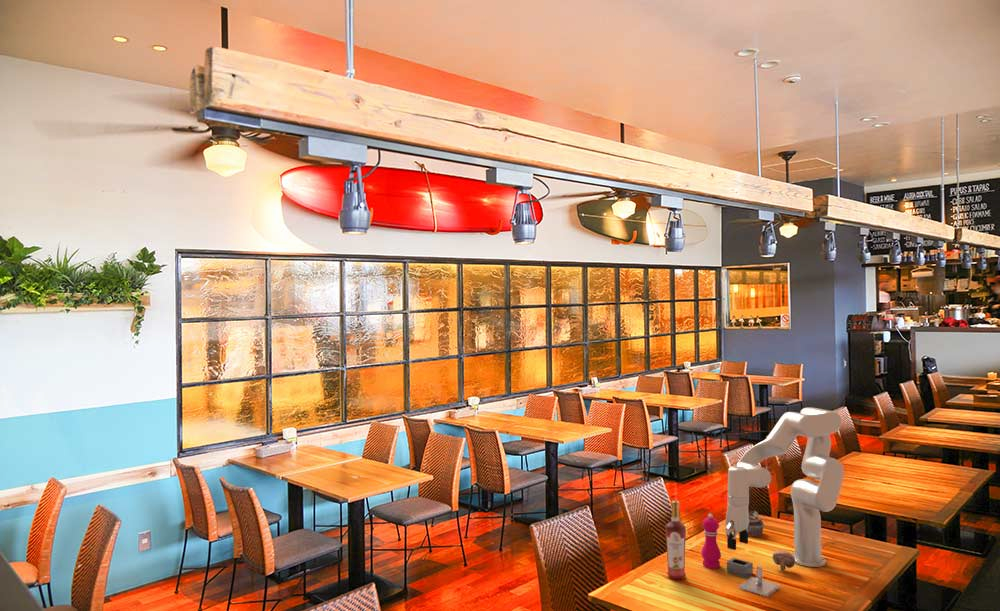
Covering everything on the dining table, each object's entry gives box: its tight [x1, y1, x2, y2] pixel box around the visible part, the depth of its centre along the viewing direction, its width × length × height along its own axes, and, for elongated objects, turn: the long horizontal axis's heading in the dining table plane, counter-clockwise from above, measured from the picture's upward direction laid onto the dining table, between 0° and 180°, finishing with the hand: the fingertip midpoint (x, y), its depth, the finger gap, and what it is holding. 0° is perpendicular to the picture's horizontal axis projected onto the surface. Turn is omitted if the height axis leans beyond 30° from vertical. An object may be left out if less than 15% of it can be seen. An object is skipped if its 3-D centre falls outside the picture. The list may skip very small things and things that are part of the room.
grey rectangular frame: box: [726, 557, 754, 579], centre depth 241 cm, size 8×6×4 cm
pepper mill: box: [701, 513, 722, 570], centre depth 248 cm, size 7×7×20 cm
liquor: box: [665, 500, 687, 581], centre depth 238 cm, size 7×7×28 cm
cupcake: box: [748, 509, 765, 537], centre depth 282 cm, size 10×10×10 cm
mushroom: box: [772, 550, 796, 572], centre depth 242 cm, size 8×6×8 cm
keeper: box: [738, 566, 780, 598], centre depth 227 cm, size 10×10×7 cm
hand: (737, 545), depth 241 cm, fingers open, 9 cm apart
